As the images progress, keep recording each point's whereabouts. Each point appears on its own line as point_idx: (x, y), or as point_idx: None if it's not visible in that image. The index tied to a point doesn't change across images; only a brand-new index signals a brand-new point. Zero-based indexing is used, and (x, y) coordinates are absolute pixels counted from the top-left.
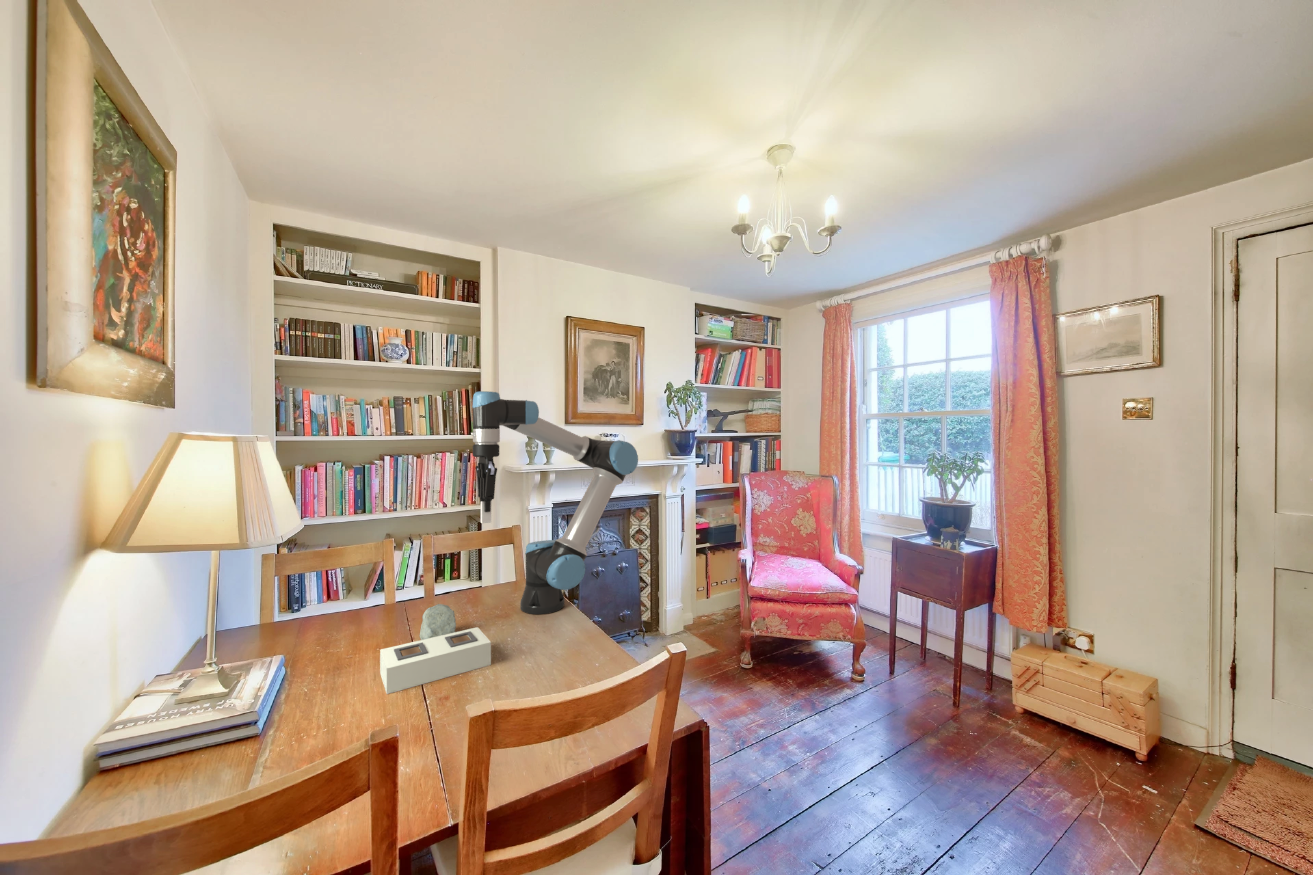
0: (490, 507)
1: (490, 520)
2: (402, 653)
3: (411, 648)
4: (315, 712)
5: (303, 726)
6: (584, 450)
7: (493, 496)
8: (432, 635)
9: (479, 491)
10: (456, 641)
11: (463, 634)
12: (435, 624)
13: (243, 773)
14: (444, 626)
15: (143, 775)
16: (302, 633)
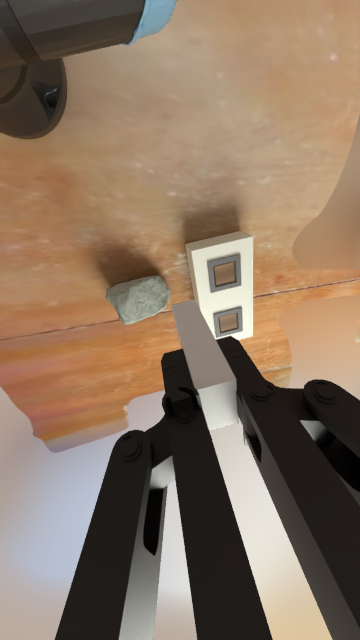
0: (219, 348)
1: (196, 307)
2: (228, 329)
3: (220, 322)
4: None
5: (255, 360)
6: None
7: (352, 399)
8: (166, 303)
9: (163, 524)
10: (227, 279)
11: (213, 271)
12: (152, 305)
13: (285, 371)
14: (154, 292)
15: None
16: (74, 410)
